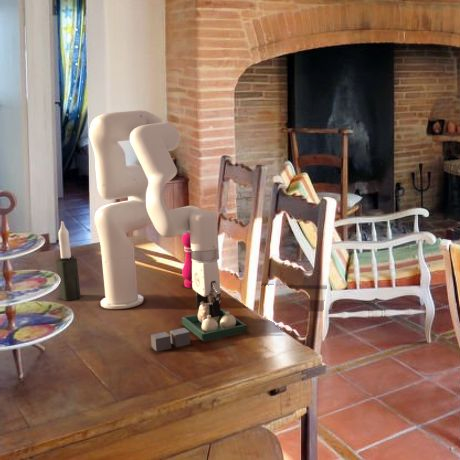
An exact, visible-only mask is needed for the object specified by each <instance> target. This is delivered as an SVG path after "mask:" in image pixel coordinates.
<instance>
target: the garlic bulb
mask: <svg viewBox="0 0 460 460" xmlns="http://www.w3.org/2000/svg"><path fill="white" fill-rule="evenodd" d="M200 304H202V305H200V307H199V309H198V312H197V314H198V319H199V321H200V322H201V323H203V321H204V320H206V319H207V316H208V315H209V306H208V304H210V303H209V302H208V303H204V302H203V301H202V302H201V303H200ZM218 318H219V316H218V317H214V318H212V319H214V320H216V322H217V320H218Z"/></svg>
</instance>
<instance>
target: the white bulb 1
mask: <svg viewBox="0 0 460 460" xmlns="http://www.w3.org/2000/svg"><path fill="white" fill-rule="evenodd" d="M217 328H218V323H217V322H216V320H214V319H212V318H211V315H208V316H207V319H206V320H204V321H203V323H202V330H203V332H205V333H207V332H212V331H216V330H217Z"/></svg>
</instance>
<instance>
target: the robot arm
mask: <svg viewBox="0 0 460 460" xmlns="http://www.w3.org/2000/svg"><path fill="white" fill-rule="evenodd" d="M180 137H181V136H180V134H179V132H178V130H177V128H176V127H175V125H173V124H172V123H170V122H169V121H167V120H166V119H164V118H162V117H160V116H158V115H155V114H154V113H152V112H149V111H147V110H138V109H137V110H128V111H127V110H126V111H114V112H107V113H103V114H100V115H98V116H96V117H95V118H94V119H93V120H92V121H91V123H90V126H89V139H90V142H91V146H92V150H93V153H94V160H95V161H94V162H95V174H96V186H97V191H98V194H99V196H100V197H101V198H102V199H103V200H106V201H107V200H108V201H113V200H120V199H126V198H127V200H124V201H118V202H114V203H108V204H106V205H103V206H101V207H100V208H98V210H96V212H95V214H94V225H95V228H96V231H97V235H98V239H99V244H100V253H101V262H102V263H101V264H102V273H103V285H104V296H105V297H104V298H102V299H101V300H100V306H101V308H104V309H107V310H125V309H131V308H134V307H137V306H140V305H142V304H143V303H144V301H145V300H144V296H143V295H141V294H139V290H138V289H139V288H138V279H137V278H138V277H137V267H136V266H137V265H136V255H135V248H134V244H133V242H132V241H131V239H130V238H129V236H128V233H130V232H135V231H139V230H143V229H145V228H147V227H149V226H150V224H151V223H152V225H153V227H154V228H155V230H156V231H157V233H158V234H159V235H160V236H162V237H164V238H174V237H178V236H183V235H184V234H187V233H190V240H191V256H192V287H193V288H192V290H193V291H194V292H195V301H196V302H195V303H196V309H198V310H199V307H200V305H202V304H200V303H201V302H202V301H203V302H204V303H210V304H208V306H209V315H211V318H214V317H218V316H220V315H221V312H220V310H221V294H222V292H221V279H220V271H219V269H220V268H219V263H218V260H220V248H219V246H220V245H219V229H218V228H219V227H218V215H217V213H216V212H215V211H214V210H211V209H202V208H200V207H198V206H195V205H186V206H183V207H177V208H172V209H168V207H167V205H166V203H165V200H164V196H163V192H164V191H163V190H164V188H165V186H166V184H167V183H168V182H170V181H171V180H172V179H174V178H175V177H176V175H177V174H178V169H177V166H176V164H175V162H174V160H173V158H172V156H171V154H170V152H172V151H175V150H176V149H178V147H179V146H180V143H181V142H180V141H181V139H180ZM124 141H129V142H130V144H131V145H130V146H131V147H132V149H133V151H134V154H135V156H136V158H137V159H138V162H139V164H140V165H138V164H128V165H127V162H126V161H127V160H126V152H125V150H124V148H123V147H122V146H121V144H120V143H119V142H124Z"/></svg>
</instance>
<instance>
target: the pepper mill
mask: <svg viewBox="0 0 460 460" xmlns="http://www.w3.org/2000/svg"><path fill="white" fill-rule="evenodd" d="M181 243H182V244H183V245H184V246H183V251H184V252H185V261H184V264H183V267H182V271H181V274H182V277H183V278H184V281H183V282H184V283H183V284H184V288H188V289H193V287H192V256H191V240H190V233H187V234H182V236H181Z"/></svg>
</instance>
